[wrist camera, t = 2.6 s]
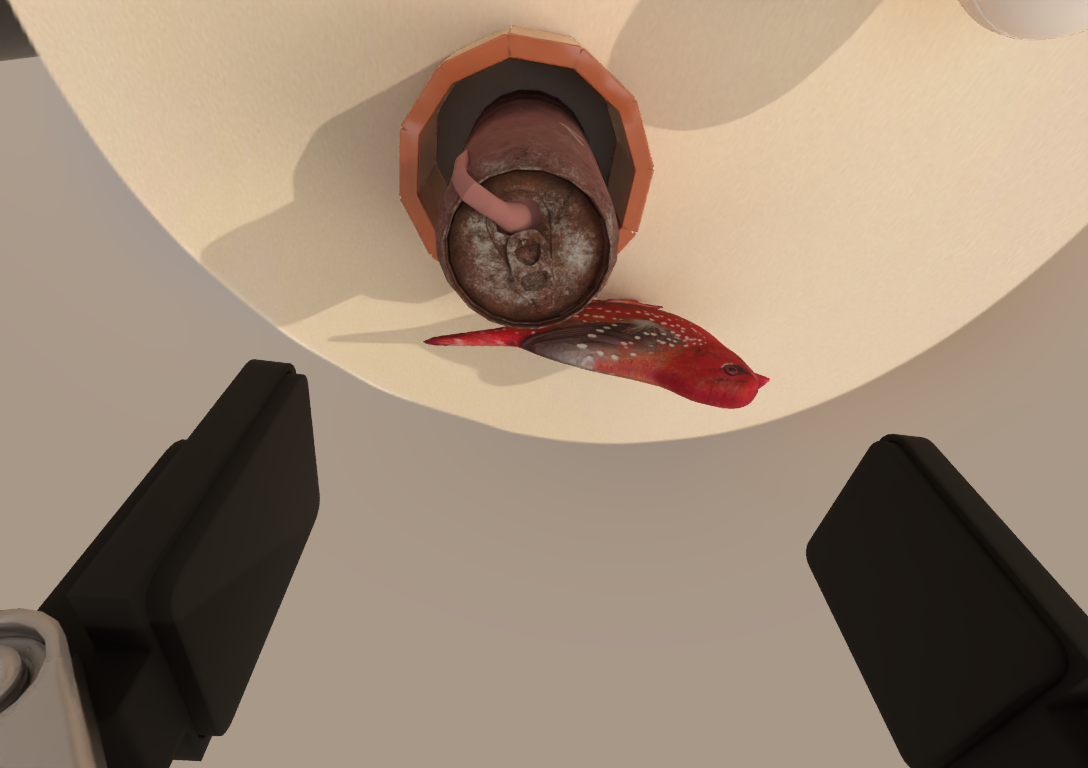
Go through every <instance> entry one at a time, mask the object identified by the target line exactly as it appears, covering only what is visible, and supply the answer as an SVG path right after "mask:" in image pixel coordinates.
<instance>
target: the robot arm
mask: <svg viewBox="0 0 1088 768" xmlns="http://www.w3.org/2000/svg"><path fill="white" fill-rule="evenodd" d="M319 495H320V494H319V486H318V476H317V466H316V456H315V447H314V437H313V427H312V418H311V408H310V399H309V389H308V381H307V378H306V376H305V375H303V374H296V370H295V368H294V366H293V365H292V364H290V363H282V362H273V361H264V360H256V359H253V360H250V361H249V362H248V363H246V365H245V366H244V367H243V368H242V370H241V371H240V372H239V374H238V375H237V376H236V378H235V379H234V380H233V381H232V383H231V384H230V385H229V387H228V388H227V389H226V390H225V392H224V393H223V394H222V395H221V397H220V398H219V399H218V400H217V402H216V403H215V405H214V406H213V407H212V408H211V409H210V411H209V412H208V413H207V415H206V416H205V417H204V419H203V420H202V421H201V422H200V424H199V425H198V426H197V427H196V429H195V430H194V431H193V433H192V434H191V435H190V436H189V438H188V439H187V440H183V439H182V440H180V441H177V442H175V443H174V444H173V445H172V446H170V447H169V449H167V450H166V452H165V453H164V454H163V455H162V456H161V458H160V459H159V460H158V461H157V463H156V464H155V465H154V466H153V468H152V469H151V470H150V471H149V473H148V474H147V475H146V476H145V478H144V479H143V480H142V481H141V482H140V484H139V485H138V486H137V487H136V489H135V490H134V491H133V492H132V494H131V495H130V496H129V497H128V499H127V500H126V501H125V502H124V504H123V505H122V506H121V507H120V509H119V510H118V511H117V512H116V514H115V515H114V516H113V517H112V518H111V520H110V521H109V522H108V523H107V525H106V526H105V527H104V528H103V530H102V531H101V532H100V533H99V535H98V536H97V537H96V538H95V539H94V541H93V542H92V543H91V544H90V546H89V547H88V548H87V549H86V551H85V552H84V553H83V554H82V556H81V557H80V558H79V559H78V560H77V562H76V563H75V564H74V565H73V567H72V568H71V569H70V570H69V572H68V573H67V574H66V575H65V577H64V578H63V579H62V581H61V582H60V583H59V584H58V585H57V587H56V588H55V589H54V590H53V592H52V593H51V594H50V595H49V597H48V598H47V599H46V600H45V601H44V603H43V604H42V605H41V606H40V608H39V609H38V610H37V611H35V610H28V609H21V608H18V609H9V610H0V768H169V767H170V765H171V763H172V760H189V761H201V760H202V758H203V756H204V753H205V751H206V749H207V746H208V744H209V742H210V739H211V737H212V736H222V735H223V734H224V733H225V732H226V731H227V729H228V728H229V726H230V724H231V722H232V720H233V718H234V715H235V713H236V711H237V708H238V706H239V703H240V701H241V698H242V696H243V694H244V691H245V689H246V686H247V684H248V682H249V679H250V677H251V674H252V672H253V669H254V667H255V665H256V662H257V660H258V658H259V655H260V653H261V650H262V648H263V645H264V643H265V641H266V638H267V636H268V633H269V631H270V629H271V626H272V624H273V621H274V619H275V617H276V614H277V612H278V609H279V607H280V605H281V602H282V600H283V597H284V595H285V593H286V590H287V588H288V585H289V583H290V580H291V578H292V576H293V573H294V571H295V568H296V566H297V564H298V561H299V559H300V556H301V554H302V551H303V549H304V547H305V544H306V542H307V540H308V537H309V535H310V532H311V530H312V527H313V525H314V522H315V520H316V517H317V513H318V510H319V501H320V496H319ZM806 557H807V562H808V564H809V567H810V569H811V571H812V573H813V575H814V577H815V579H816V581H817V583H818V585H819V587H820V589H821V591H822V593H823V595H824V597H825V599H826V602H827V604H828V606H829V608H830V610H831V612H832V614H833V616H834V618H835V620H836V622H837V624H838V626H839V628H840V630H841V633H842V635H843V637H844V639H845V641H846V643H847V645H848V647H849V649H850V651H851V653H852V655H853V657H854V659H855V661H856V664H857V665H858V668H859V670H860V672H861V674H862V676H863V678H864V680H865V682H866V684H867V686H868V688H869V690H870V692H871V695H872V697H873V699H874V701H875V703H876V704H877V707H878V709H879V711H880V713H881V715H882V717H883V719H884V721H885V723H886V725H887V728H888V730H889V731H890V734H891V736H892V738H893V740H894V742H895V744H896V746H897V748H898V750H899V752H900V754H901V756H902V758H903V759H904V761H905V762H906V763H907V765H908V766H909V767H910V768H1088V616H1087V615H1086V614H1085V613H1084V611H1082V609H1081V608H1080V607H1079V606H1078V605H1077V604H1076V602H1074V600H1073V599H1072V598H1071V597H1070V596H1069V595H1068V594H1067V592H1065V590H1064V589H1063V588H1062V587H1061V586H1060V585H1059V584H1058V582H1057V581H1056V580H1055V579H1054V578H1053V577H1052V576H1051V574H1050V573H1049V572H1048V571H1047V570H1046V569H1045V568H1044V567H1043V566H1042V564H1041V563H1040V562H1039V561H1038V560H1037V559H1036V558H1035V557H1034V556H1033V555H1032V553H1031V552H1030V551H1029V550H1028V549H1027V548H1026V547H1025V545H1024V544H1023V543H1022V542H1021V541H1020V540H1019V539H1018V538H1017V537H1016V535H1015V534H1014V533H1013V532H1012V531H1011V530H1010V529H1009V528H1008V526H1007V525H1006V524H1005V523H1004V522H1003V521H1002V520H1001V519H1000V518H999V517H998V515H997V514H996V513H995V512H994V511H993V510H992V509H991V507H990V506H989V505H988V504H987V503H986V502H985V501H984V500H983V499H982V497H981V496H980V495H979V494H978V493H977V492H976V491H975V490H974V488H973V487H972V486H971V485H970V484H969V483H968V482H967V481H966V480H965V478H964V477H963V476H962V475H961V474H960V473H959V472H958V471H957V469H956V468H955V467H954V466H953V465H952V464H951V463H950V462H949V461H948V459H947V458H946V457H945V456H944V455H943V454H942V453H941V452H940V450H939V449H938V448H937V447H936V446H935V445H934V444H933V443H932V442H931V441H930V440H928V439H926V438H923V437H915V436H907V435H898V434H888V435H886V436H884V437H882V438H881V439H880V441H877V442H875V443H873V444H872V445H871V446H870V447H869V449H868V451H867V452H866V454H865V455H864V457H863V458H862V460H861V461H860V463H859V465H858V466H857V468H856V469H855V471H854V472H853V474H852V476H851V477H850V479H849V480H848V482H847V483H846V485H845V486H844V488H843V489H842V491H841V492H840V494H839V496H838V497H837V499H836V500H835V502H834V503H833V505H832V507H831V508H830V510H829V511H828V513H827V514H826V516H825V517H824V519H823V520H822V522H821V523H820V525H819V527H818V528H817V530H816V531H815V533H814V534H813V536H812V538H811V539H810V541H809V542H808V545H807V549H806Z"/></svg>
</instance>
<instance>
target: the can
mask: <svg viewBox="0 0 1088 768" xmlns="http://www.w3.org/2000/svg"><path fill="white" fill-rule="evenodd" d="M619 235H620V233H619V228H618V223H617V218H616V214H615V209H614V205H613V202H612V200H611V197H610V195H609V192H608V190H607V187H606V185H605V182H604V180H603V177H602V175H601V172H600V170H599V167H598V165H597V162H596V160H595V157H594V155H593V152H592V150H591V147H590V145H589V142H588V140H587V137H586V135H585V132H584V130H583V128H582V126H581V124H580V123H579V121H578V119H577V118H576V116H575V114H574V112H573V111H572V110H571V109H570V108H568V107H567V106H566V105H565V104H564V103H563V102H562V101H561V100H559V99H558V98H556V97H554V96H551V95H549V94H546V93H544V92H542V91H537V90H517V91H514V92H511V93H508V94H505V95H502V96H500V97H499V98H497V99H496V100H495V101H493V102H492V103H491V104H490V105H488V106H487V107H486V108H485V109H484V110H483V112H482V113H481V115H480V116H479V118H478V119H477V121H476V122H475V124H474V126H473V128H472V131H471V133H470V135H469V138H468V140H467V142H466V145H465V147H464V150H463V152H462V154H460V155H459V156H458V157H457V158H456V161H455V165H454V170H453V175H452V178H451V180H450V183H449V185H448V187H447V190H446V192H445V194H444V197H443V199H442V202H441V206H440V210H439V214H438V218H437V221H436V225H435V238H436V251H437V258H438V260H439V262H440V265H441V267H442V270H443V272H444V275H445V277H446V279H447V282H448V283H449V284H450V285H451V286H452V288H453V289H454V290H455V291H456V292H457V294H458V295H459V296H460V297H461V298H462V300H463V301H464V302H465V303H466V304H467V305H468V307H469V308H471V309H472V310H474V311H475V312H477V313H478V314H480V315H481V316H483V317H484V318H486V319H487V320H489V321H491V322H494V323H497V324H501V325H504V326H507V327H510V328H514V329H540V328H544V327H548V326H552V325H556V324H559V323H562V322H564V321H566V320H567V319H569V318H571V317H573V316H574V315H576V314H578V313H579V312H581V311H583V310H584V308H585V307H586V306H587V305H588V304H589V303H590V302H591V301H592V300H593V299H594V298H595V296H596V295H597V294H598V293H599V292H600V291H601V290H602V288H603V287H604V286H605V285H606V282H607V280H608V278H609V276H610V274H611V272H612V270H613V267H614V265H615V263H616V261H617V252H618V244H619Z"/></svg>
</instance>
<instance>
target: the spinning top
mask: <svg viewBox="0 0 1088 768" xmlns="http://www.w3.org/2000/svg"><path fill="white" fill-rule="evenodd" d="M958 1H959V2H960V4H961V6H962V7H963V8H964V10H965V11H966V12H967V13H968V15H969V16H970V17H971V18H972V19H974V20H975V21H976V22H977V23H978V24H980V25H981V26H983V27H984V28H986V29H988V30H990V31H992V32H995V33H997V34H1000V35H1004V36H1007V37H1010V38H1014V39H1020V40H1046V39H1054V38H1061V37H1066V36H1071V35H1074V34H1078V33H1081V32H1084V31H1087V30H1088V0H958Z"/></svg>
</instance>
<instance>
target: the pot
mask: <svg viewBox="0 0 1088 768" xmlns="http://www.w3.org/2000/svg"><path fill="white" fill-rule="evenodd" d="M510 57H511V58H516V59H522V60H527V61H533V62H538V63H544V64H550V65H555V66H561V67H566V68H572V69H574V70H575V71H576V72H577V73H578V74H579V75H580V76H581V77H582V78H583V79H584V80H585V81H586V82H588V83H589V84H590V85H591V86H592V87H593V88H594V89H595V90H596V91H597V92H598V93H599V94H600V95H601V96H602V97H603V98H604V99H605V101H606V104H607V107H608V111H609V114H610V118H611V121H612V125H613V128H614V132H615V135H616V139H617V145H616V149H615V154H614V158H613V163H612V168H611V172H610V177H609V181H608V186H607V190H608V192H609V195H610V197H611V200H612V202H613V205H614V209H615V214H616V218H617V223H618V228H619V233H620V235H619V244H618V252H617V254H618V253H619V252H620V251H621V250H622V249H623V248H624V247H625V246H626V245H627V244H628V242H629V241H630V240H631V239H632V238H633V237H634V236H635V235H636V233H635V232H638V229H639V225H640V221H641V217H642V214H643V210H644V206H645V202H646V198H647V194H648V191H649V187H650V183H651V179H652V175H653V171H654V170H653V169H652V168H653V167H654V165H653V162H652V158H651V154H650V150H649V146H648V142H647V138H646V135H645V131H644V127H643V123H642V119H641V115H640V111H639V107H638V104H637V101H636V100H635V99H634V96H633V95H632V94H631V93H630V92H629V91H628V90H627V89H626V88H625V87H624V86H623V85H622V84H621V83H620V82H619V81H618V80H617V79H615V78H614V77H613V76H612V75H611V74H610V73H609V72H608V71H607V70H606V69H605V68H604V67H603V66H602V65H601V64H600V63H599V62H598V61H597V60H596V59H595V58H594V57H593V56H592V55H591V54H590V53H589V52H588V51H587V50H586V49H585V48H584V47H583V46H582V45H581V44H580V43H578V42H577V41H576V40H575V39H574V38H572V37H571V36H566V35H561V34H555V33H550V32H545V31H539V30H534V29H529V28H523V27H518V26H512V28H511V27H510V26H509V27H506V28H504V29H502V30H500V31H498V32H496V33H493V34H491V35H489V36H487V37H485V38H483V39H481V40H478V41H476V42H474V43H472V44H470V45H468V46H465V47H463V48H461V49H459V50H457V51H456V52H454V53H453V54H452V55H450V56H449V57H448V58H447V59H445V60H444V61H443V62H441V64H440V65H439V66H437V67H436V69H435V71H434V72H433V74H432V76H431V77H430V79H429V80H428V82H427V84H426V85H425V87H424V89H423V90H422V92H421V93H420V95H419V97H418V98H417V100H416V102H415V103H414V105H413V107H412V108H411V110H410V111H409V113H408V115H407V116H406V118H405V120H404V121H403V123H402V128H401V129H400V180H399V195H400V196H401V202H402V204H403V205H404V207H405V209H406V211H407V213H408V215H409V217H410V219H411V221H412V222H413V224H414V226H415V228H416V230H417V232H418V234H419V236H420V238H421V239H422V241H423V243H424V245H425V247H426V249H427V251H428V253H429V254H432V257H433V258H434V259H436V260H437V261H439V260H438V258H437V251H436V238H435V225H436V221H437V218H438V214H439V210H440V206H441V202H442V199H443V197H444V194H445V192H446V190H447V185H446V182H445V180H444V178H443V176H442V174H441V172H440V170H439V168H438V166H437V164H436V151H437V129H438V111H439V110H440V108H441V106H442V105H443V103H444V102H445V100H446V99H447V97H448V95H449V94H450V92H451V91H452V89H453V88H454V86H455V85H456V83H457V81H459V80H461V79H464V78H466V77H468V76H470V75H472V74H475V73H477V72H479V71H481V70H484V69H486V68H488V67H490V66H492V65H495V64H497V63H499V62H501V61H504V60H506V59H508V58H510Z"/></svg>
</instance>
